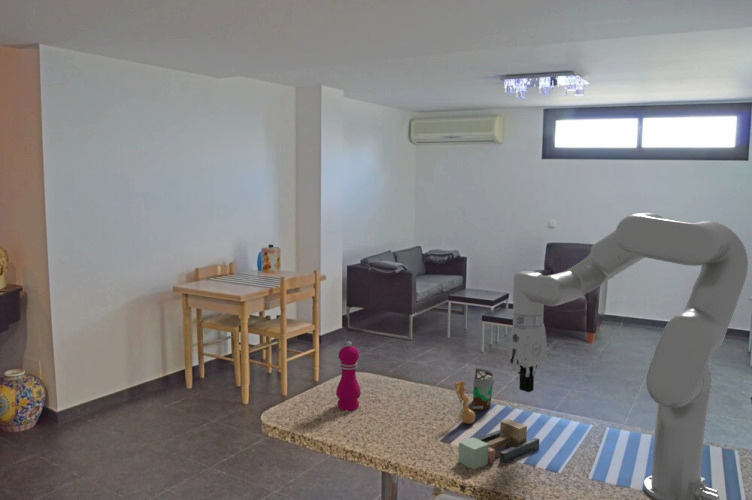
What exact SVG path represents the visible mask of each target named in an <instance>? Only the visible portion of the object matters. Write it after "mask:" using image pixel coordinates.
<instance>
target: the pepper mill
mask: <svg viewBox="0 0 752 500" xmlns="http://www.w3.org/2000/svg"><path fill="white" fill-rule="evenodd" d="M359 358H360V353H359V350H358V348H356V347H355V346H353V343H352V341H350V340H349V341H346V343H345V346H343V347H341V349H340V350H339V352H338V359H339V361H340V363H339V364H340V366H339V367H340V369H341V377H340V380H339V382H338V385H337V387H336V391H335V394H336V397H337V398H338V401H337V408H338V409H339V410H341V411H345V410H347V411H348V412H350V411H355V410H357V409H358V408H359V407H360V405H359V403H360V401H359V400H358V399H359V398H360V397H361V394H362V393H361V387H360V384H359V383H358V380H357V375H356V371H357V369H358V362H357V361H358V360H359ZM347 411H346V412H347Z"/></svg>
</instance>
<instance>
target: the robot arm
mask: <svg viewBox="0 0 752 500" xmlns="http://www.w3.org/2000/svg"><path fill="white" fill-rule="evenodd" d="M644 258H645V259H646V258H648V259H652V260H656V261H662V262H666V263H667V262H668V263H672V264H676V265H677V264H678V265H684V266H691V267H693V266H694V267H695V266H696V267H698V266H701V267H700V272H699V274H698V276H697V278H696V280H695V282H694V283H693V287H692V289H691V290H692V291H691V293H690V295H689V299H688V301H687V303H686V305H685V307H684V308H683V311H682V312H680V313H678V314H676V315H675V316H673V317H672V318H671V319H670V320H669V321H668V322H667V323H666V324H665V326H664V328H663V330H662V331H661V332H662V333H660V337H659V340H658V342H657V345H656V348H655V350H654V353H653V356H652V359H651V361H650V364H649V366H648V369H647V372H646V376H645V387H646V390H647V392H648V393H647V394H649V396H650V397H651V399H652V400H653V401H654V402H655V403H657V406H656V415H655V416H656V418H655V429H654V440H653V453H652V454H653V455H652V468H651V475H649V476H648V477H646V478H644V480H643V490H644V491H645V492H646V493H647V494H648V495H649V496H650V497H652V498H654V499H655V500H720V495H719V491H718V490H716V489H715V488H711V487H708V486H707V485H706V478H705V477H702V467H703V466H702V465H703V464H702V462H703V452H704V440H705V431H706V422H707V419H706V418H707V410H708V403H709V397H710V392H711V387H712V373H711V368H710V366H709V364H708V361H709V359H710V357H711V354H712V353H713V352H715V351H716V350H717V349H718V348H720V347H721V345H722V344H723V342H724V340H725V338H726V334H727V332H728V328H729V326H730V323H731V320H732V317H733V316H734V313H735V309H736V308H737V304H738V301H739V299H740V297H741V293H742V291H743V288H744V286H745V283H746V279H747V275H748V271H749V270H748V269H749V260H748V259H749V257H748V253H747V250H746V247H745V245H744V243H743V242H742V240H741V238H739V236H738V235H737V234H736V233H735V232H734V231H733V230H732V229H731V228H729V227H728V226H726V225H725V224H723V223H719V222H716V221H711V220H709V221H708V220H706V221H698V222H685V221H677V220H670V219H665V218H664V217H663V216H661V215H660V214H657V213H653V212H641V213H633V214H630V215H628V216H625V217H624V218H623V219H621V221H619V222H618V224H617V226H616V228H615V230H614V231H612V232H611V233H609V234H608V235H606V236H604V237H603V238H602V239H600V240H598V241H597V242H595V243H594V244H593V245H592V246H591V248H590V253H589V254H588V255H587V256H586V257H585V258H583V259H582V260H581V261H579V262H578V263H576V264H575V265H573V266H571V267H570V268H568V269H566V270H565V271H561V272H558V273H553V274H548V275H543V273H541V272H537V271H530V270H529V271H528V270H527V271H526V270H524V271H518V272H516V273H515V274H514V276H513V290H512V291H513V293H512V294H513V297H512V301H513V302H512V303H513V304H512V305H513V306H512V327H511V333H510V340H509V351H508V352H509V355H508V356H509V363H510V364H511V365H512V366H511V370H512V371H514V372H517V375H519V386H518V387H519V388H518V389H519V390H520V391H523V392H527V393H531V392H533V391H534V381H535V380H534V379H535V378H534V377H535V375H536V370H537V368H538V367H539V366H540V365H541V364H544V363H545V362H546V361H547V357H548V354H547V353H548V348H547V345H548V344H547V333H546V327H545V324H544V309H545V308H544V307H545V306H548V307H556V306H560V305H563V304H565V303H569V302H572V301H575V300H578V299H579V298H581V297H583V296H585V295H586V294H588V293H590V292H591V291H593V290H595V289H596V288H598V287H600V286H601V285H603V284H604V283H606V282H607V281H609V280H611V279H613V278H614V277H616V276H617V275H618V274H620V273H621V272H623V271H625V270H626V269H628V268H630V267H632V266H633V265H634V264H637V263H638V262H639V261H641V260H643V259H644Z"/></svg>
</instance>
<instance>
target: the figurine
mask: <svg viewBox="0 0 752 500" xmlns="http://www.w3.org/2000/svg"><path fill="white" fill-rule="evenodd" d="M464 385H466V383H465V381H464V380H462V381H460V382H459V381H457V382H455V384H454V387H455V390H456V395H457V397H458V400H459V403H460V404H462V407H463V410H462V412H461V413H460V414H461V415H460V418H461V421H462V422H463V423H464V424H466V425H467V424H468V425H470V424H473V423H474V422H475V419H476V414H475V411H473V409H470V408H469V407H468V406H467V404H468V402H469V401H470V399H469V397H468V396H467V395H468V394H469V392H468V390H467V389H466V388H465V386H464ZM464 391H465V392H464ZM466 394H467V395H466Z"/></svg>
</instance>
